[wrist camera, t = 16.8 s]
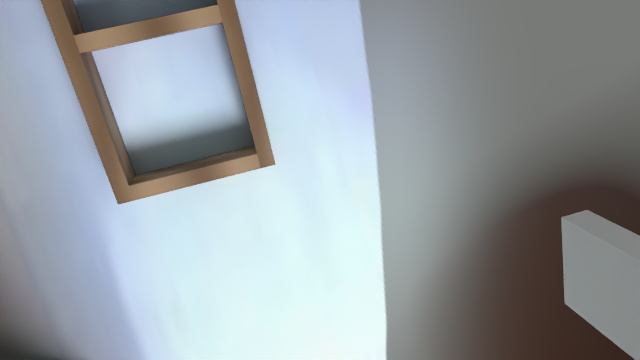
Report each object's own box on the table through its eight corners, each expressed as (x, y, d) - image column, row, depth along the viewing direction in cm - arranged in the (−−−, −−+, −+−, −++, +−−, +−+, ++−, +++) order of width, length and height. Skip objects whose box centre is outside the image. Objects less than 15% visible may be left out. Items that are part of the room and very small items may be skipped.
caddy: (125, 192, 39) (118, 204, 36) (3, -136, 31) (-17, -151, 28) (272, 155, 40) (275, 164, 37) (191, -168, 32) (187, -185, 30)
